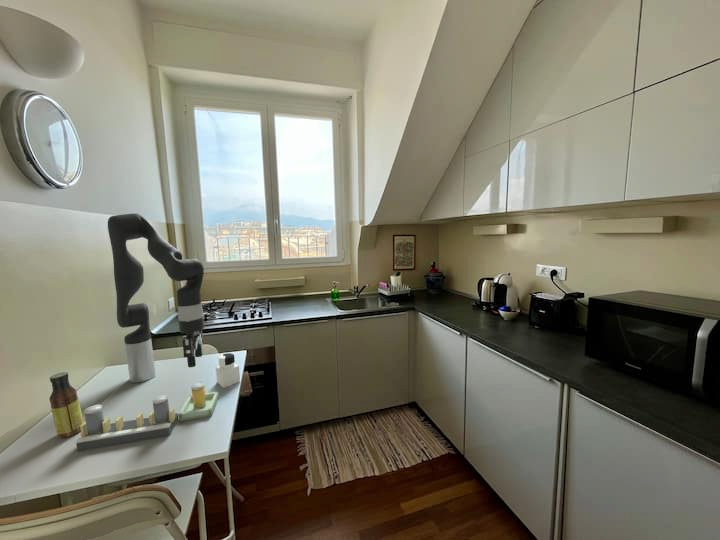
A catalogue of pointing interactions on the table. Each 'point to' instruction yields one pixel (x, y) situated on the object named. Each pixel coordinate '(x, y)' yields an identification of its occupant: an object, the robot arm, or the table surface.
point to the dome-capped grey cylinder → (94, 420)
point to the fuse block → (126, 431)
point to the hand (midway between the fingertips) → (195, 361)
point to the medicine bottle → (227, 370)
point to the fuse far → (161, 409)
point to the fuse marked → (198, 396)
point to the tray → (190, 413)
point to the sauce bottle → (65, 406)
